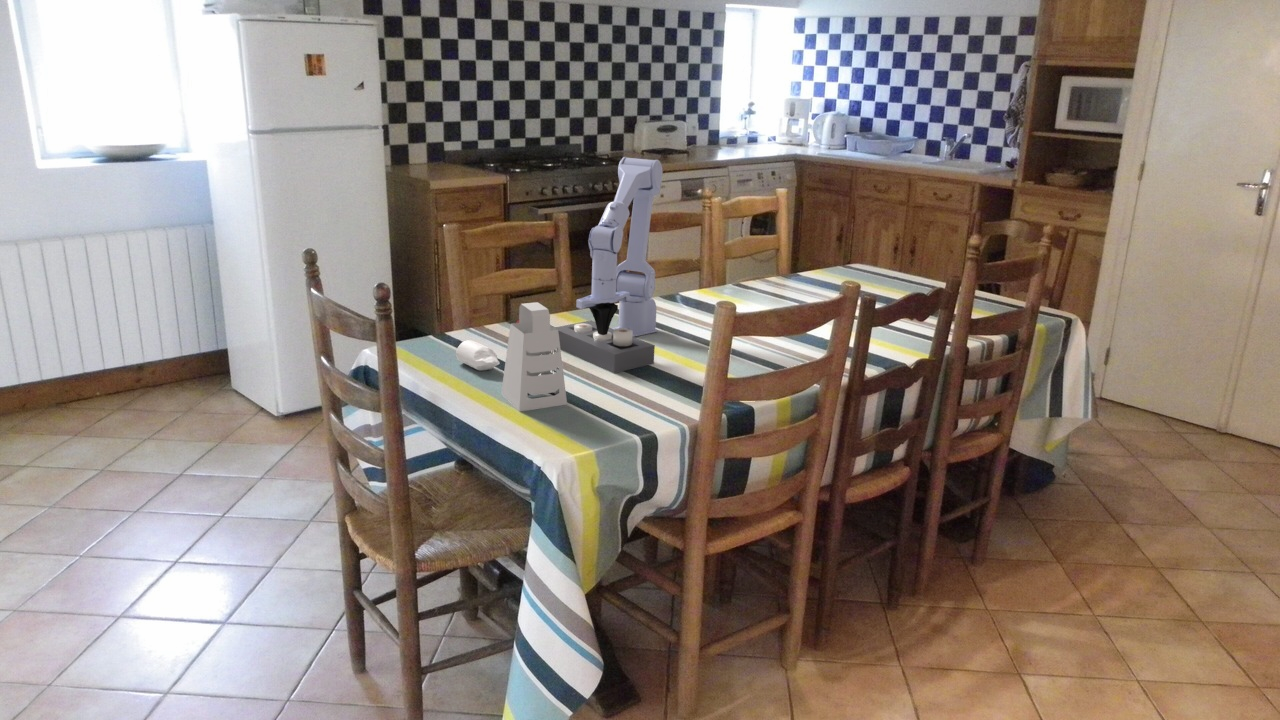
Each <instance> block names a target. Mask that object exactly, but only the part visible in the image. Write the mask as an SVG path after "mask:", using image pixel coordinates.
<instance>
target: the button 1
mask: <svg viewBox="0 0 1280 720" xmlns="http://www.w3.org/2000/svg"><path fill="white" fill-rule="evenodd" d="M574 331H577V332H579V333H585V332H589V331H592V325H590V324H584V323H581V324H576V325H574Z"/></svg>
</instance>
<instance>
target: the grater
mask: <svg viewBox="0 0 1280 720" xmlns="http://www.w3.org/2000/svg"><path fill="white" fill-rule="evenodd" d="M518 315H519V316H518V317H519V318H518V319H519V323H516V322H515V323H514V322H513V323H510V326H509V333H508V340H507V349H506V357H505V363H504V371H503V378H502V384H501V391H500V393H501V396H502V397H503V398H504V399H505V400H506V401H508V403H510V404H511V405H512V406H513V407H514V408H515V409H516V410H517V411H518V412H526V411H532V410H537V409H539V410H540V409H546V408H553V407H559V406H566V405H568V399H567V391H566V384H565V376H564V366H563V358H562V350H561V349H560V341H559V333H558V330H557V329H556V328H555V326H553V325H552V324H551V315H550V311H549V308H547V307H546V306H544V305H542V304H541V303H539V302H538V301H537V302H527V303H525V302H524V303H520V305H519V307H518ZM551 393H552V394H554V395H548V396H542V397H541V396H540V397H536V398H531V397H528V396H529V395H531V396H537V395H544V394H551ZM528 394H529V395H528Z"/></svg>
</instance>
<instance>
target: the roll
mask: <svg viewBox="0 0 1280 720" xmlns="http://www.w3.org/2000/svg"><path fill="white" fill-rule="evenodd" d="M455 356H456V358H457V361H459V362H461V363H463V364H464V365H467V366H468V367H471V368H472V369H475V370H477V371H487V370H492V369H493V368H495V367H496V366H499V365H500V361H499V359H498V355H497V354H496V352H495V351H494V350H493V349H492V348H491V347H488V346H486V345H483V344H482V343H480V342H476V341H474V340H471V339H467V340H464V341H462V342H461V343H460V344H459V346H458V347H457V348H456V351H455Z"/></svg>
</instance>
